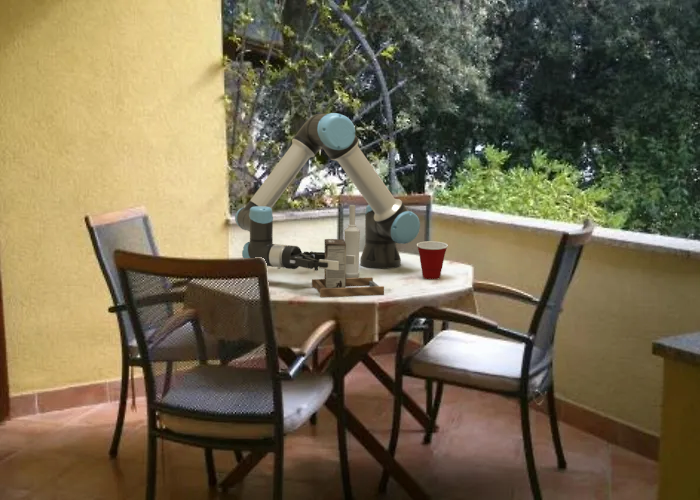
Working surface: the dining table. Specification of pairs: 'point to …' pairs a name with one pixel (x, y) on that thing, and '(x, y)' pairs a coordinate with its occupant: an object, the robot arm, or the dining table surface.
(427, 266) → the plastic cup
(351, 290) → the frame
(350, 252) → the bottle
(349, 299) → the dining table surface
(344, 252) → the coffee box
